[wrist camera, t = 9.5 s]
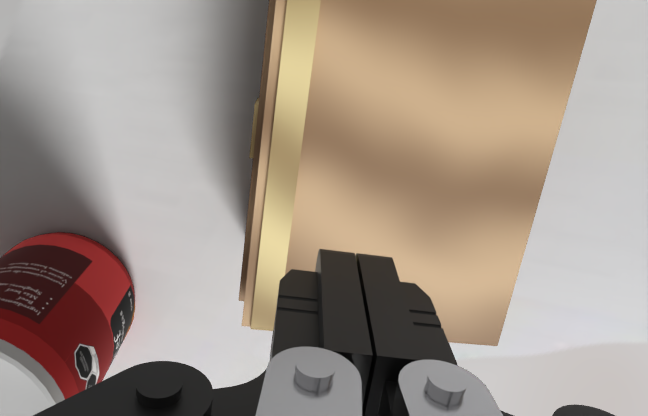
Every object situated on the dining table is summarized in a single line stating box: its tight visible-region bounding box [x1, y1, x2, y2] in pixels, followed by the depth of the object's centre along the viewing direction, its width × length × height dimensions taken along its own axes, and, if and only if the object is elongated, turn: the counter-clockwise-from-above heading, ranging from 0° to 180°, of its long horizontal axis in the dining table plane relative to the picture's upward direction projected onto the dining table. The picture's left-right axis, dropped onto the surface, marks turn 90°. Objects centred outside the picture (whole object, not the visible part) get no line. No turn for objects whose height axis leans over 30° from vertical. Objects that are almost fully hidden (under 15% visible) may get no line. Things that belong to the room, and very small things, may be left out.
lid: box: [242, 0, 597, 346], centre depth 23 cm, size 17×12×1 cm
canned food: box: [0, 232, 135, 416], centre depth 27 cm, size 8×8×11 cm
